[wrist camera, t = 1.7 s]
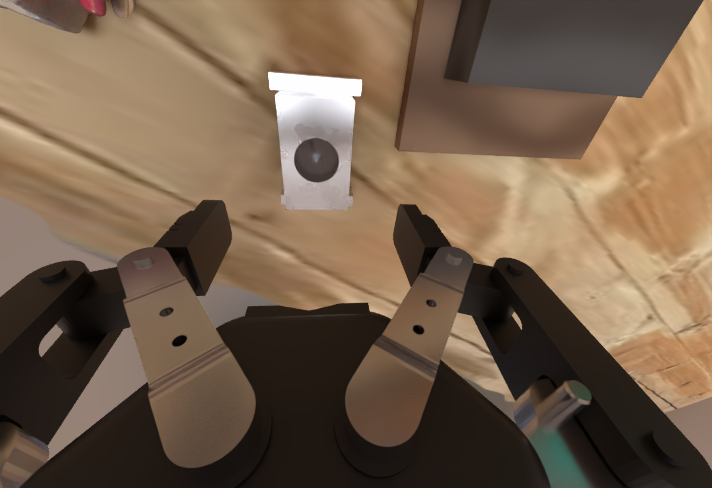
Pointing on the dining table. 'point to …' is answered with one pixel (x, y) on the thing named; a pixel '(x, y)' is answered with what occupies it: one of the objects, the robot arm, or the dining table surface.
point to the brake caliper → (66, 11)
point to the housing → (315, 138)
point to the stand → (529, 71)
